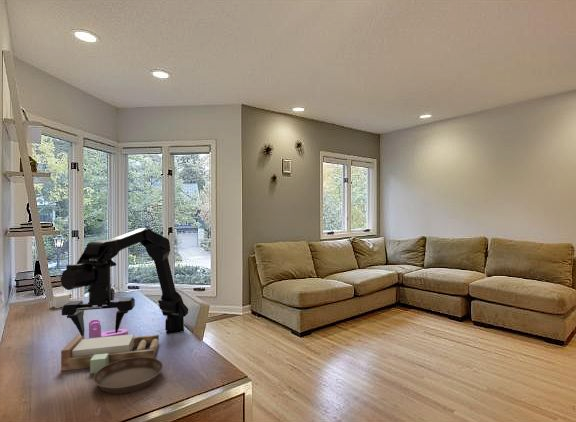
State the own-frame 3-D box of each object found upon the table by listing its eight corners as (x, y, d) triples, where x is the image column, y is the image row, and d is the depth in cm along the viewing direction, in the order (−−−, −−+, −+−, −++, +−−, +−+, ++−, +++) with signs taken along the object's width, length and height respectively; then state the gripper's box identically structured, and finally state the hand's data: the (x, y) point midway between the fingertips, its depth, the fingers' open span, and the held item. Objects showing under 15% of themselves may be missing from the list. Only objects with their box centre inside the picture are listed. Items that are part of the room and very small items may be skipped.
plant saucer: (174, 379, 95) (174, 368, 95) (108, 406, 82) (108, 394, 82) (145, 361, 107) (145, 351, 107) (83, 382, 93) (83, 372, 93)
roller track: (159, 343, 121) (159, 326, 121) (154, 360, 107) (154, 341, 107) (77, 351, 114) (77, 334, 114) (61, 370, 100) (61, 350, 100)
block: (108, 366, 103) (108, 353, 103) (105, 372, 99) (105, 358, 99) (94, 367, 102) (94, 354, 102) (90, 373, 98) (90, 360, 98)
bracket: (89, 342, 122) (89, 323, 122) (88, 338, 127) (88, 319, 127) (128, 335, 129) (128, 317, 130) (126, 331, 134) (126, 314, 134)
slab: (133, 341, 117) (133, 334, 117) (128, 352, 107) (128, 344, 107) (82, 346, 112) (82, 339, 112) (72, 358, 103) (72, 350, 103)
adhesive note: (52, 306, 171) (52, 294, 171) (66, 304, 175) (66, 292, 175) (55, 308, 167) (56, 296, 167) (69, 306, 171) (69, 294, 171)
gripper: (137, 276, 111) (137, 323, 111) (74, 279, 106) (74, 328, 106) (131, 282, 101) (131, 334, 100) (60, 286, 96) (60, 341, 96)
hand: (100, 334), depth 101 cm, fingers open, 9 cm apart
